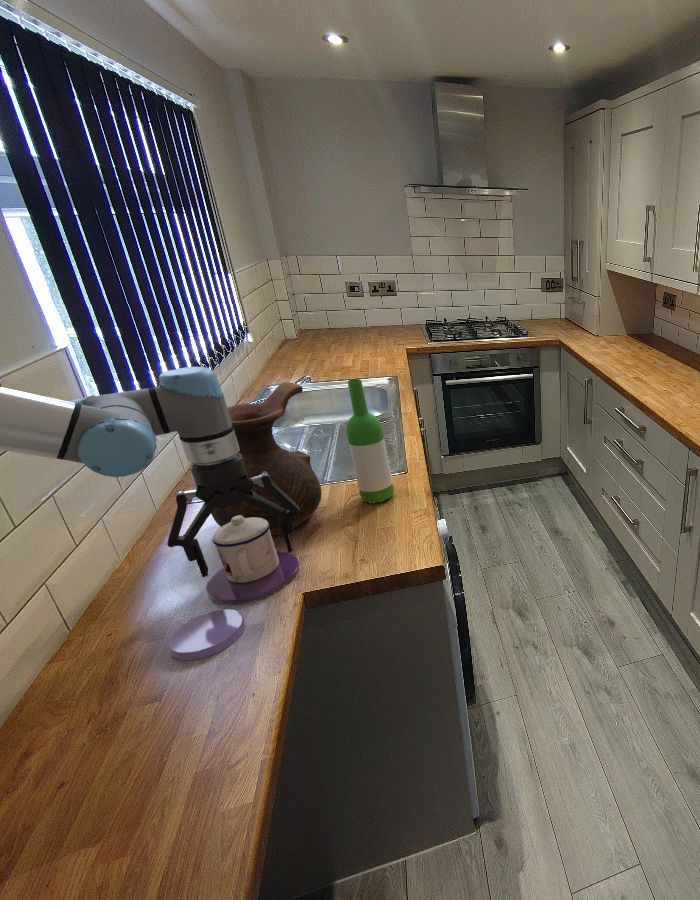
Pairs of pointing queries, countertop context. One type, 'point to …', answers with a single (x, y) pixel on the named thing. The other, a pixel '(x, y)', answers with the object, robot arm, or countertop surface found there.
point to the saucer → (253, 583)
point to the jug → (271, 461)
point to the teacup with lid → (246, 549)
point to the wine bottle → (368, 449)
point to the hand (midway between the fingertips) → (249, 560)
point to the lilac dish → (207, 634)
